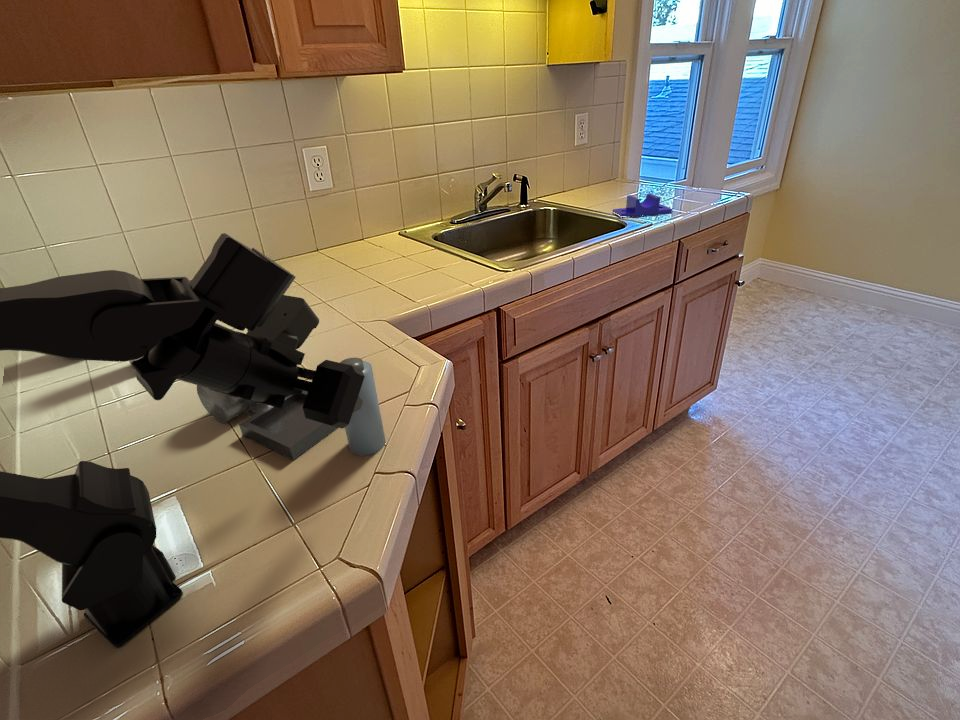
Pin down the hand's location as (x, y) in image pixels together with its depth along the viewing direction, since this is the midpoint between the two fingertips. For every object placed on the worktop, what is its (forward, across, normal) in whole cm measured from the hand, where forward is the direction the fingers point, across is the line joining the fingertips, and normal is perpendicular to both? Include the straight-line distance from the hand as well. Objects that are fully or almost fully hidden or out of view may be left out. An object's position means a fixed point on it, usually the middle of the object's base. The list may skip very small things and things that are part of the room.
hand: (330, 396), depth 61 cm
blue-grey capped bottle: (+11, 0, +4) cm, 12 cm away
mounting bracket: (+109, -11, -92) cm, 143 cm away
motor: (+11, +17, +5) cm, 21 cm away
